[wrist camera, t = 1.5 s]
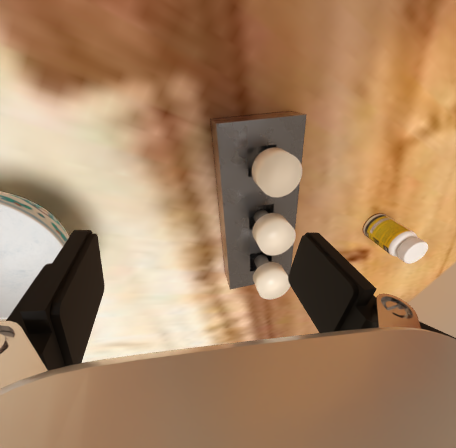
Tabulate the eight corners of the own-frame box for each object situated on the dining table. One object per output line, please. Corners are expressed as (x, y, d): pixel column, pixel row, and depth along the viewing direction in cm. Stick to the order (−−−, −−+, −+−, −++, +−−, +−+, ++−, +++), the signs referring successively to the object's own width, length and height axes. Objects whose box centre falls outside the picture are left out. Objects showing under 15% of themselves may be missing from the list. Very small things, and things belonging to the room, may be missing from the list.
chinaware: (-98, 189, 25) (-194, 226, 18) (46, 149, 26) (4, 171, 19) (6, 286, 33) (-35, 336, 26) (112, 252, 34) (99, 293, 27)
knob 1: (242, 143, 26) (259, 156, 21) (280, 138, 27) (304, 150, 22) (243, 181, 28) (259, 200, 24) (278, 176, 29) (299, 194, 24)
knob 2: (246, 251, 34) (258, 278, 29) (275, 245, 34) (291, 271, 30) (246, 273, 36) (258, 302, 31) (273, 268, 37) (289, 295, 32)
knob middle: (244, 204, 30) (258, 226, 25) (277, 199, 31) (297, 219, 26) (245, 233, 32) (258, 258, 27) (275, 227, 33) (293, 251, 28)
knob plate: (210, 119, 28) (216, 123, 24) (290, 111, 29) (306, 114, 26) (224, 272, 40) (230, 289, 37) (280, 261, 42) (290, 276, 38)
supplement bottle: (357, 231, 42) (395, 261, 35) (374, 209, 40) (419, 236, 33) (374, 238, 44) (413, 268, 37) (391, 218, 42) (436, 244, 35)
